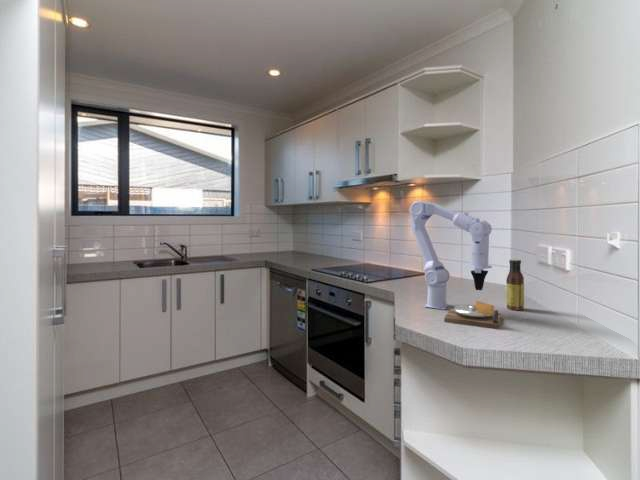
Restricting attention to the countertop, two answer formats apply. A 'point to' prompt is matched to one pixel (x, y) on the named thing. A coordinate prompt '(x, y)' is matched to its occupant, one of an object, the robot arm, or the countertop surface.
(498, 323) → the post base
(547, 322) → the countertop surface
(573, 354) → the countertop surface
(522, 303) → the sauce bottle
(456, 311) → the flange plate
